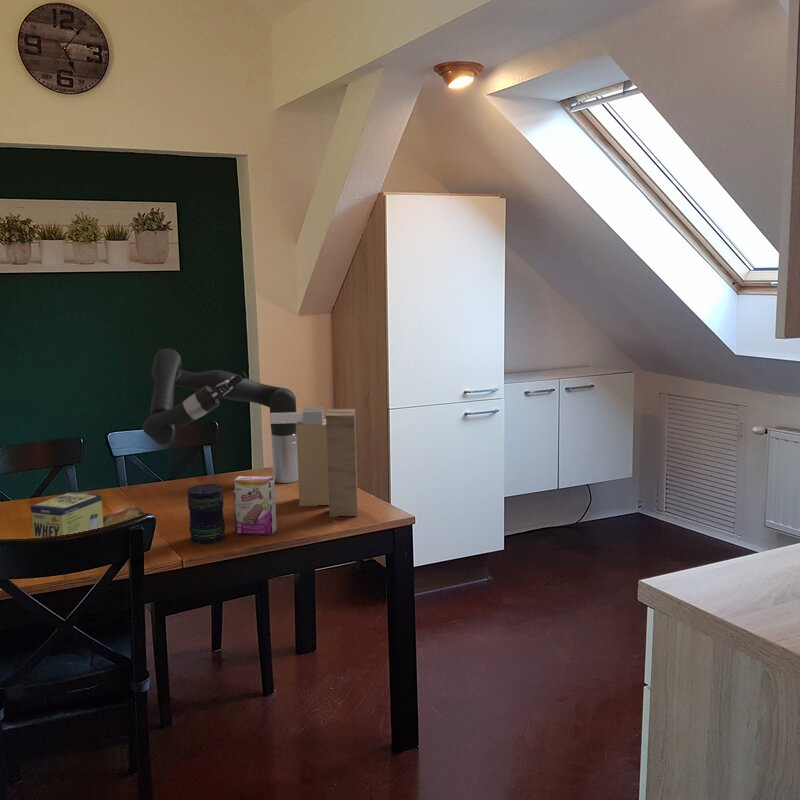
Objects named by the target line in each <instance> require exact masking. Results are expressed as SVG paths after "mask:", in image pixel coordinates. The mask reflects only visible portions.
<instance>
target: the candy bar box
mask: <svg viewBox="0 0 800 800" xmlns="http://www.w3.org/2000/svg"><path fill="white" fill-rule="evenodd" d="M275 483H276V482H275V478H274V477H273V476H252V475H251V476H250V475H249V476H248V475H247V476H246V475H238V476H237V477H235V478H234V479H233V500H234V501H233V504H234V520H235V521H234V524H235V525H234V526H235V535H253V534H254V535H255V536H256V535H257V536H258V535H259V536H260V535H263V536H264V535H265V536H272V535H274V534H275V532H276V531H277V512H276V510H277V509H276V485H275Z"/></svg>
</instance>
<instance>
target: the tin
mask: <svg viewBox="0 0 800 800" xmlns="http://www.w3.org/2000/svg"><path fill="white" fill-rule="evenodd" d="M143 515H145V513H144V511H143V510H142V509H141V508H140V507H134V506H133V507H132V506H131V507H126V508H122V509H120V510H118V511H114V512H110V513H108V514H106V515H103V526H109V525H112V524H115V523H119V522H123V521H127V520H129V519H132V518H135V517H139V516H143Z"/></svg>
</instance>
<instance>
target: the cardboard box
mask: <svg viewBox="0 0 800 800" xmlns="http://www.w3.org/2000/svg"><path fill="white" fill-rule="evenodd" d="M296 435H297V459H298V481H297V483H298V501H299V502H298V503H299V505H298V506H299V507H319V506H318V505H329V486H328V458H327V430H326V418H324V421H323V423H322V424H321V425H303V423H297V425H296Z"/></svg>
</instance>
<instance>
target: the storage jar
mask: <svg viewBox="0 0 800 800" xmlns="http://www.w3.org/2000/svg"><path fill="white" fill-rule="evenodd" d="M186 491H187V504H188V505H187V507H188V510H189V535H190V543H191V542H192V544H193V543H194V545H197V546H198V545H199V546H208V545H209V546H211V545H216V544H218V543H222V542H224V541H225V540H226V525H225V518H224V493H223V486H222V484H221V485H220V484H216V483H215V484H214V483H207V484H198V485H193V486H190V487H188V488H187V490H186ZM224 539H225V540H224ZM221 541H222V542H221ZM215 543H216V544H215ZM210 544H211V545H210Z"/></svg>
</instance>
